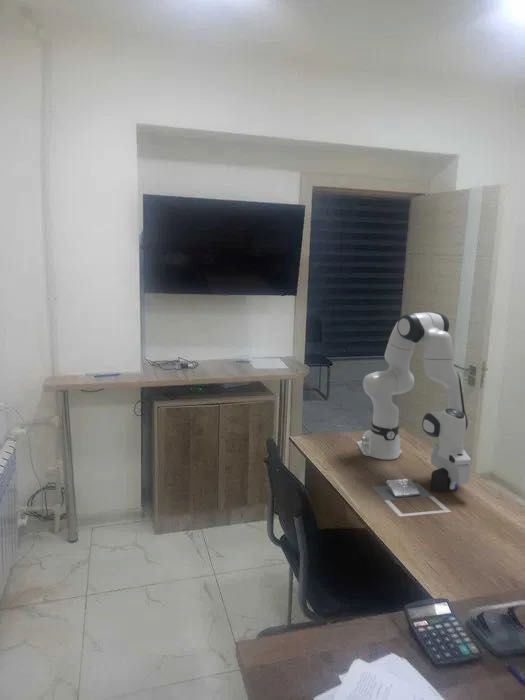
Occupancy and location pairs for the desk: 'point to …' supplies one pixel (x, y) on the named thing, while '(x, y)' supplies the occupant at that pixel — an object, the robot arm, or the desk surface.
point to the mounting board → (387, 496)
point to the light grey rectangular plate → (402, 488)
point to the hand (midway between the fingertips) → (446, 485)
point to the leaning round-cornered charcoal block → (441, 481)
